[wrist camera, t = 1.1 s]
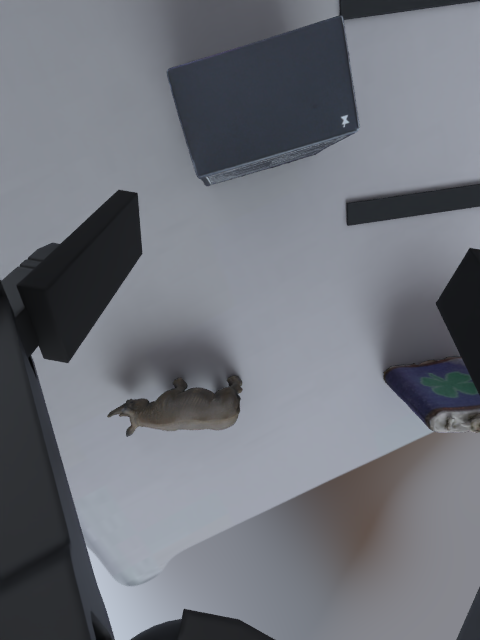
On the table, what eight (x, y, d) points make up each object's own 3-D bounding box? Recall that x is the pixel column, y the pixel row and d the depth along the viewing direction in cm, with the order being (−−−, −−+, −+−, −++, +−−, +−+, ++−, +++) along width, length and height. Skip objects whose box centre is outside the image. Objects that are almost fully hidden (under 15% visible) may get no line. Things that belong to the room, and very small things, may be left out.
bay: (339, -11, 27) (340, -13, 27) (540, -39, 28) (543, -41, 27) (347, 225, 33) (348, 225, 33) (512, 201, 34) (514, 201, 33)
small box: (303, 70, 29) (347, 4, 19) (318, 154, 31) (365, 134, 21) (181, 108, 29) (162, 62, 20) (204, 188, 32) (198, 183, 22)
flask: (465, 353, 39) (552, 409, 29) (463, 377, 40) (546, 438, 30) (382, 366, 39) (440, 426, 28) (382, 389, 40) (438, 455, 29)
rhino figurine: (111, 380, 37) (92, 413, 32) (241, 369, 38) (245, 400, 32) (118, 413, 39) (101, 450, 33) (243, 402, 39) (247, 437, 33)
